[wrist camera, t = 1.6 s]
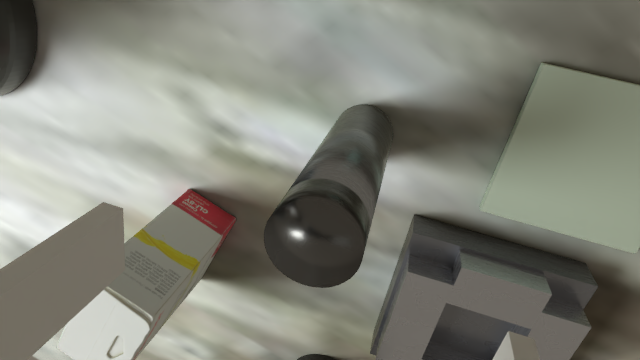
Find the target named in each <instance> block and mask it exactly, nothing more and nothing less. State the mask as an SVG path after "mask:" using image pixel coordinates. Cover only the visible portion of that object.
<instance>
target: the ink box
mask: <svg viewBox="0 0 640 360" xmlns="http://www.w3.org/2000/svg"><path fill="white" fill-rule="evenodd" d="M235 221H236V218H235V217H234V216H232V215H230V214H228V213H227V212H225V211H224V210H222V209H221V208H219V207H218V206H216V205H214V204H213V203H211V202H210V201H208V200H207V199H205V198H204V197H202V196H201V195H199V194H197V193H196V192H194V191H193V190H191V189H188V190H187V191H186V192H185V193H184V194H183V195H182V196H180V197H179V198H178V199H177V200H176V201H174V202H173V203H172V204H171V205H170V206H168V207H167V208H166V209H165V210H164V211H163V212H161V213H160V214H159V215H158V216H157V217H155V218H154V219H153V220H152V221H151V222H149V223H148V224H147V225H146V226H145V227H144V228H142V229H141V230H140V231H139V232H138V233H137V234H135V235H134V236H133V237H132V238H131V239H129V240H128V241H127V242H126V243H124V252H125V271H124V272H123V273H121V274H120V275H119V276H118V277H117V278H116V279H115V280H114V281H113V282H112V283H111V284H109V285H108V286H107V287H106V288H105V289H104V290H103V291H102V292H101V293H100V294H99V295H97V296H96V297H95V298H94V299H93V300H92V301H91V302H90V303H89V304H88V305H87V306H85V307H84V308H83V309H82V310H81V311H80V312H79V313H78V314H77V315H76V316H75V317H73V318H72V319H71V320H70V321H69V322H68V323H67V324H66V326H65V328H64V330H63V332H62V335H61V337H60V339H59V341H58V344H57V349H59V350H60V351H61V352H63V353H64V354H66V355H67V356H69V357H70V358H72V359H73V360H135V359H136V358H137V357H138V355H139V354H140V353H141V352H142V350H143V349H144V348H145V347H146V346H147V344H148V343H149V342H150V341H151V339H152V338H153V337H154V336H155V335H156V333H157V332H158V331H159V330H160V328H161V327H162V326H163V325H164V324H165V322H166V321H167V320H168V319H169V318H170V316H171V315H172V314H173V313H174V311H175V310H176V309H177V308H178V307H179V305H180V304H181V303H182V302H183V301H184V299H185V298H186V297H187V296H188V294H189V293H190V292H191V291H192V290H193V288H194V287H195V286H196V285H197V283H198V282H199V281H200V280H201V278H202V277H203V275H204V273H205V271H206V270H207V268H208V266H209V265H210V263H211V261H212V260H213V258H214V256H215V254H216V253H217V251H218V250H219V248H220V246H221V244H222V243H223V241H224V239H225V238H226V236H227V234H228V233H229V231H230V229H231V228H232V226H233V224H234V223H235Z"/></svg>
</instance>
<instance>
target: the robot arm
mask: <svg viewBox="0 0 640 360" xmlns="http://www.w3.org/2000/svg"><path fill="white" fill-rule="evenodd" d="M36 44H37V28H36V19H35V12H34V8H33V3H32V0H0V96H1V95H4V94H7V93H9V92H11V91H13V90H14V89H16V88H17V87H18V86H19V85H20V84H21V83H22V82H23V81H24V79H25V78H26V76H27V75H28V73H29V71H30V69H31V67H32V64H33V61H34V57H35V52H36ZM124 271H125V252H124V223H123V208H120V207H117V206H114V205H111V204H107V203H104V202H103V203H101V204H100V205H98V206H97V207H95V208H94V209H92V210H91V211H89V212H88V213H86V214H85V215H83V216H81V217H80V218H78V219H77V220H75V221H74V222H72V223H71V224H69V225H68V226H66V227H65V228H63V229H61V230H60V231H58V232H57V233H55V234H54V235H52V236H51V237H49V238H48V239H46V240H45V241H43V242H42V243H40V244H38V245H37V246H35V247H34V248H32V249H31V250H29V251H28V252H26V253H25V254H23V255H22V256H20V257H19V258H17V259H15V260H14V261H12V262H11V263H9V264H8V265H6V266H5V267H3V268H2V269H0V360H28V359H29V358H30V357H31V356H32V355H33V354H34V353H35V352H36V351H37V350H39V349H40V348H41V347H42V346H43V345H44V344H45V343H46V342H47V341H48V340H49V339H51V338H52V337H53V336H54V335H55V334H56V333H57V332H58V331H59V330H60V329H61V328H63V327H64V326H65V325H66V324H67V323H68V322H69V321H70V320H71V319H72V318H73V317H75V316H76V315H77V314H78V313H79V312H80V311H81V310H82V309H83V308H84V307H85V306H87V305H88V304H89V303H90V302H91V301H92V300H93V299H94V298H95V297H96V296H97V295H99V294H100V293H101V292H102V291H103V290H104V289H105V288H106V287H107V286H108V285H109V284H111V283H112V282H113V281H114V280H115V279H116V278H117V277H118V276H119V275H120V274H121V273H123V272H124ZM492 360H540V358H539V354H538V351H537V347H536V344H535V340H534V339H532V338H529V337H526V336H523V335H520V334H517V333H514V332H510V331H508V332H507V334H506V336H505V338H504V340H503V341H502V343H501V345H500V347H499V349H498V350H497V352H496V354H495V356H494V358H493V359H492Z"/></svg>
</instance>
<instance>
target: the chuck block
mask: <svg viewBox="0 0 640 360" xmlns="http://www.w3.org/2000/svg"><path fill="white" fill-rule="evenodd" d="M597 288H598V285H597V283H596V282H595V280H594V278H593V276H592V274H591V272H590V271H589V269H588V267H587V265H586V263H582V262H579V261H575V260H572V259H568V258H565V257H561V256H558V255H554V254H551V253H547V252H544V251H540V250H537V249H533V248H530V247H526V246H523V245H519V244H516V243H512V242H509V241H505V240H502V239H498V238H495V237H491V236H488V235H484V234H481V233H477V232H474V231H470V230H467V229H463V228H460V227H456V226H453V225H449V224H446V223H442V222H439V221H435V220H432V219H428V218H425V217H421V216H418V215H414V217H413V219H412V222H411V225H410V228H409V231H408V234H407V237H406V240H405V243H404V245H403V248H402V251H401V254H400V257H399V260H398V263H397V266H396V268H395V271H394V274H393V277H392V280H391V283H390V286H389V289H388V292H387V294H386V297H385V300H384V303H383V306H382V309H381V312H380V315H379V317H378V320H377V323H376V326H375V329H374V333H373V339H372V345H371V351H370V354H373V355H376V360H492V359H493V358H494V356H495V354H496V352H497V350H498V349H499V347H500V345H501V343H502V341H503V340H504V338H505V336H506V334H507V332H508V331H510V332H514V333H517V334H520V335H523V336H526V337H529V338H532V339H534V340H535V344H536V347H537V351H538V354H539V358H540V360H570V358H571V357H572V355H573V354H574V352H575V351H576V350H577V348H578V347H579V345H580V344H581V342H582V341H583V339H584V338H585V336H586V335H587V333H588V332H589V331H590V329H591V325H590V323H589V321H588V319H587V317H586V315H585V313H584V310H583V309H584V308H585V306H586V305H587V303H588V302H589V300H590V299H591V297H592V295H593V294H594V292H595V291H596V289H597Z"/></svg>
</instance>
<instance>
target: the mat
mask: <svg viewBox="0 0 640 360" xmlns="http://www.w3.org/2000/svg"><path fill="white" fill-rule="evenodd" d="M480 211H483V212H486V213H490V214H494V215H497V216H501V217H504V218H508V219H511V220H515V221H519V222H522V223H526V224H529V225H533V226H537V227H540V228H544V229H547V230H551V231H554V232H558V233H562V234H565V235H569V236H572V237H576V238H580V239H583V240H587V241H590V242H594V243H597V244H601V245H605V246H608V247H612V248H615V249H619V250H623V251H626V252H630V253H633V254H636V252H637V251H638V249H639V248H640V85H639V84H634V83H630V82H626V81H621V80H617V79H613V78H608V77H604V76H599V75H595V74H591V73H586V72H582V71H578V70H573V69H569V68H565V67H560V66H556V65H551V64H547V63H543V62H541V64H540V67H539V69H538V71H537V74H536V76H535V78H534V81H533V83H532V85H531V88H530V90H529V92H528V95H527V97H526V99H525V102H524V104H523V106H522V109H521V111H520V113H519V116H518V118H517V120H516V123H515V125H514V127H513V130H512V132H511V134H510V137H509V139H508V141H507V144H506V146H505V148H504V151H503V153H502V155H501V158H500V160H499V162H498V165H497V167H496V169H495V172H494V174H493V176H492V179H491V181H490V183H489V186H488V188H487V190H486V193H485V195H484V197H483V200H482V202H481V204H480Z"/></svg>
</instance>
